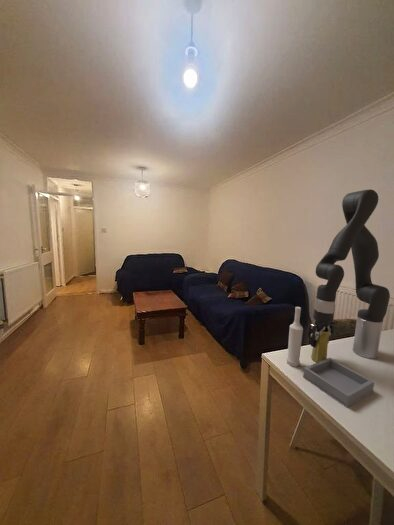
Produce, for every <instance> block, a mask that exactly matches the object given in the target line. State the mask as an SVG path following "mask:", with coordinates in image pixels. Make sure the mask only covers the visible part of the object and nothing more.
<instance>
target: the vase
mask: <svg viewBox="0 0 394 525" xmlns="http://www.w3.org/2000/svg"><path fill="white" fill-rule="evenodd" d="M316 332H318V331H316ZM315 336H316V334H315ZM328 338H329V339H330V337H329V330H328V331H326V332H322V334H321V335H320V336H318V338H317V345H316V347H315V348H314V347H312V351H311V355H310V357H311V360H312V361H314V362H315V363H318V362H320V361H323V360H325V359H328V345H329V343H328Z"/></svg>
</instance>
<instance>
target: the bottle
mask: <svg viewBox="0 0 394 525" xmlns="http://www.w3.org/2000/svg"><path fill="white" fill-rule="evenodd" d="M294 308H295V310H294V311H295V312H294V320H293V323H292V324H290V325H289V330H288V331H289V332H288V345H287V357H286V363H287V364H288V365H289V366H291V367H295V368H297V367H299V366H300V361H301V360H300V356H301V348H302V342H303V341H302V340H303V334H304V333H303V332H304V328H303V326H302V324H301V323H300V322H301V321H300V319H301V312H302V307H300V306H295V307H294Z"/></svg>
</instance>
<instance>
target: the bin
mask: <svg viewBox="0 0 394 525" xmlns="http://www.w3.org/2000/svg"><path fill="white" fill-rule="evenodd" d="M302 377H303V378H304V379H305V380H306V381H308V382H309V383H310V384H312V385H314V386H315V387H316V388H318V390H320V391H322V392H324V393H325V394H326V395H328V396H330V398H332V399H334V400H335V401H337V402H338V403H340V404H341V405H342V406H344V407H345V408H348V407H350V406H352V405H354V404H355V403H357V402H358V401H360V400H362V399H363V398H365V397H367V396H368V395H370V394H372V393H373V392H374V388H375V387H374V386H375V381H373V380H372V379H370V378H368V377H367V376H364V375H363V374H360V373H358V372H357V371H355V370H354V369H352V368H349V367H347V365H344V364H342V363H340V362H338V361H336V360H335V359H332V358H331V357H327V359H325V360H323V361H320V362H315V363H313V364H311V365H308V366H306V367H304V368H303V375H302Z"/></svg>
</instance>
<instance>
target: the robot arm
mask: <svg viewBox="0 0 394 525" xmlns="http://www.w3.org/2000/svg"><path fill="white" fill-rule="evenodd" d="M378 202H379V195H378V193H377V191H375V190H374V189H362V190H358V191H354V192H353V191H352V192H349V193H346V194H345V195H344V196H343V198H342V202H341V206H342V211H343V216H344V219H345V222H346V224H345V225H344V227H343V228H342V229H341V230H339V232H338V233H337V234H336V235H335V237H334V238H333V240H332V242H331V244H330V246H329V249H328V251H327V252H326V253H325V254H324V255H323V257H322V258H321V259H320V260H319V261H318V263H317V265H316V266H315V267H316V268H315V275H316V276H317V278H320V279H322V280H326V281H327V282H326V283H325V284H320V285H318V287H317V291H316V297H315V300H314V301H315V302H314V306H313V307H314V308H313V316H312V318H313V319H314V320H315V321H314V323H309V325H308V332H307V337H308V338H310V346H311V347H312V348H313V347H314V348H315V347H316V345H317V338H318V336H320V335H321V334H322V332H326V331H328V330H329V338H328V344H329V342H330V337H331V335H333V334H334V333H335V325H336V324H335V323H336V322H335V320H334V317H335V310H336V298H337V292H338V290H339V288H340V285H341V283H342V281H343V280H344V277H345V270H344V268H343V266H341V265H339V264H336V263H337V262H341V261H342V262H343V261H345V260H346V259H347V257H348V255H349V253H350V251H351V255H352V261H353V268H354V274H355V275H354V276H355V278H354V279H355V281H354V282H355V295H356V298H357V299H358V300H359V301H361V302H363V303H365V304H369V305H368V308H367V309H363V308H362V309H359V310H358V311H357V316H356V324H355V329H354V330H355V331H354V338H353V343H352V345H353V346H352V351H353V353H355V354H356V355H358V356H360V357H363V358H366V359H376V358H378V355H379V354H378V353H379V349H380V348H379V347H380V341H381V334H382V330H383V322H384V318H385V317H386V315H387V311H388V307H389V302H390V298H391V294H390V291H389V289H388V287H385V286H382V285H380V284H379V285H378V284H375V283H373V281H372V277H371V276H372V274H371V273H372V270H373V268H374V267H375V266H376V264H377V262H378V260H379V256H380V253H379V246H378V241H377V239H376V238H375V236H374V235H373V234H372V233H371V231H370V230H369V229H368V228H367V227H366V223H367V221H369V219H370V217H371V216H372V214H373V213H374V212H375V210H376V208H377V206H378ZM316 331H318V332H316ZM315 334H316V336H315Z"/></svg>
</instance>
